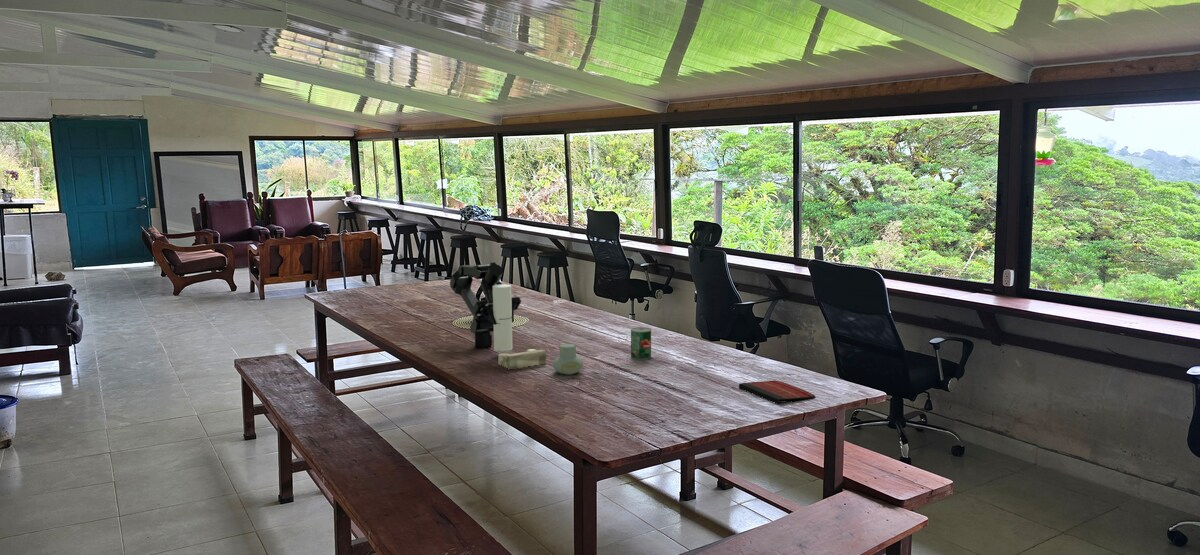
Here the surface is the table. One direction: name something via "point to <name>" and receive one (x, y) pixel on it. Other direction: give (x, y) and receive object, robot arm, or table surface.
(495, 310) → the cylindrical container
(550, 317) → the table surface
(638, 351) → the canned tomato
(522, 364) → the wooden holder
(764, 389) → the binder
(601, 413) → the table surface
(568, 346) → the air freshener
